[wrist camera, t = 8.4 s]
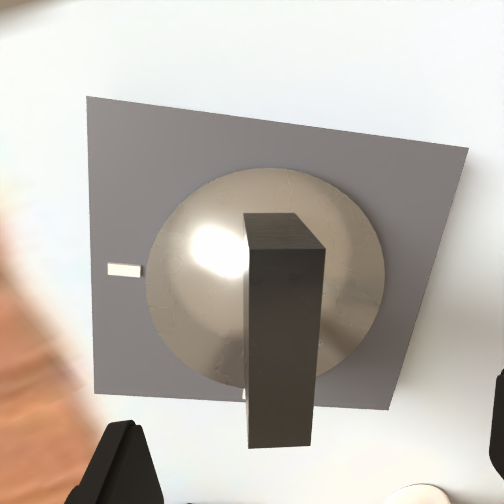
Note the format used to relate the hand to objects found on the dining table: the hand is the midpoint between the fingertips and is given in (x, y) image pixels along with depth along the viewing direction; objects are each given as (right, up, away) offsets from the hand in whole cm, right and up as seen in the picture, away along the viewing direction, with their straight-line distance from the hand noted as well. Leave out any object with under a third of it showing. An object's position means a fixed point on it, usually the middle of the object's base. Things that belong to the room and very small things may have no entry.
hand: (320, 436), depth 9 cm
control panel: (-1, +4, +12) cm, 13 cm away
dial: (-1, +3, +9) cm, 10 cm away
